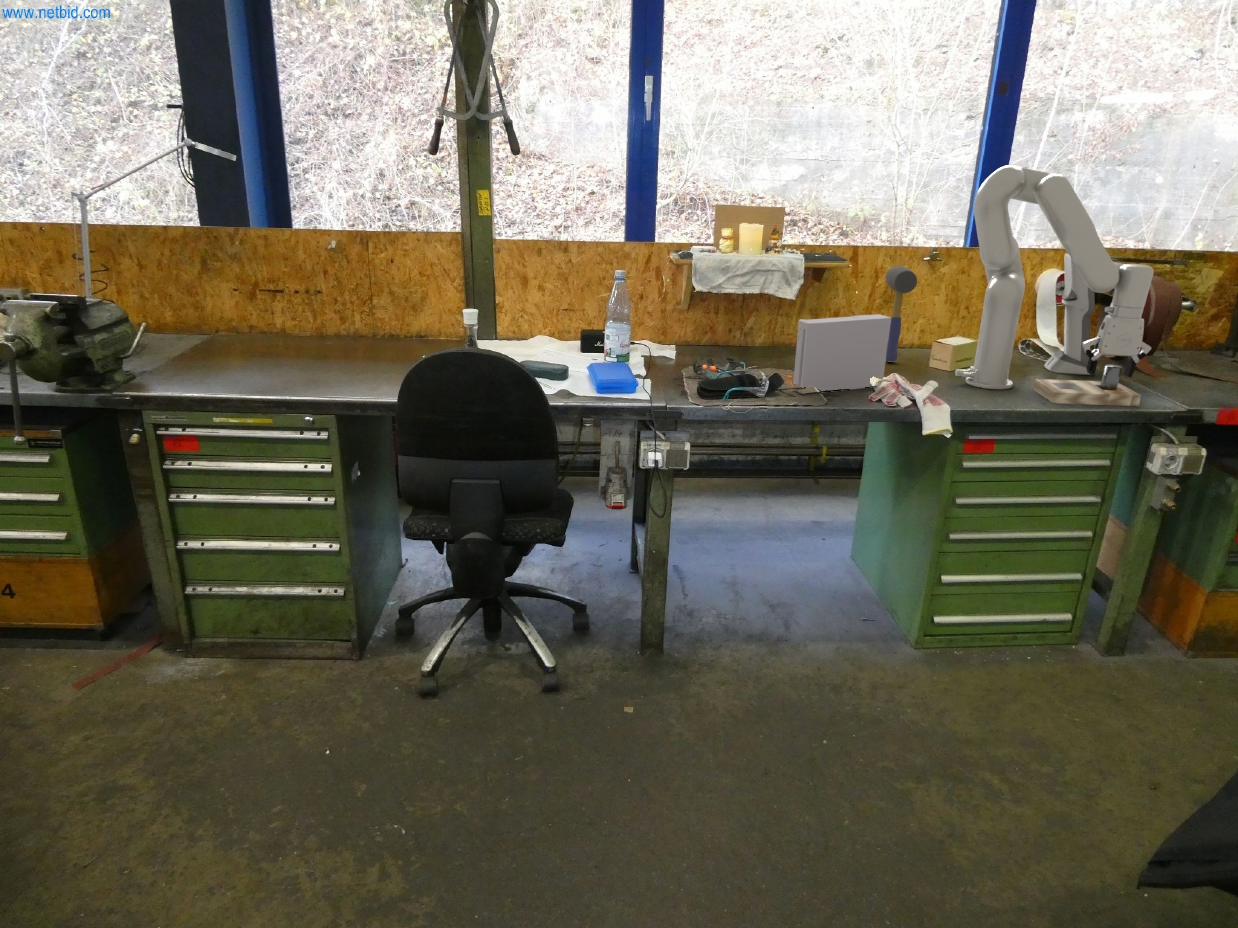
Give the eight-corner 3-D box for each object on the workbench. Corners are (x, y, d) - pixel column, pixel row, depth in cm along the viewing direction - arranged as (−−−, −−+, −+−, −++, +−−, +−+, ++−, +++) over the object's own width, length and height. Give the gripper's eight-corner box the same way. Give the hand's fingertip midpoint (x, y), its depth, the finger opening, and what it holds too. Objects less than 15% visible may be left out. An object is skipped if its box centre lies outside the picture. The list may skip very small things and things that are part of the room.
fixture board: (1052, 403, 217) (1054, 392, 216) (1033, 389, 230) (1035, 378, 229) (1138, 406, 215) (1141, 395, 214) (1113, 392, 228) (1116, 381, 227)
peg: (1101, 400, 220) (1109, 368, 217) (1095, 396, 224) (1102, 364, 221) (1117, 400, 220) (1124, 368, 217) (1110, 396, 224) (1117, 364, 220)
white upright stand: (1040, 364, 258) (1062, 252, 246) (1084, 366, 256) (1108, 253, 243) (1050, 373, 248) (1074, 256, 235) (1096, 375, 245) (1122, 258, 232)
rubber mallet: (873, 357, 265) (885, 264, 254) (897, 358, 265) (909, 264, 254) (883, 366, 254) (895, 269, 243) (907, 367, 253) (920, 270, 242)
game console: (789, 389, 228) (795, 319, 220) (869, 381, 237) (878, 314, 230) (800, 395, 222) (807, 323, 215) (882, 386, 232) (891, 317, 224)
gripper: (1098, 313, 211) (1081, 376, 217) (1167, 317, 209) (1148, 380, 216) (1085, 308, 218) (1070, 369, 224) (1152, 311, 216) (1135, 373, 223)
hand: (1108, 374), depth 220 cm, fingers open, 9 cm apart
